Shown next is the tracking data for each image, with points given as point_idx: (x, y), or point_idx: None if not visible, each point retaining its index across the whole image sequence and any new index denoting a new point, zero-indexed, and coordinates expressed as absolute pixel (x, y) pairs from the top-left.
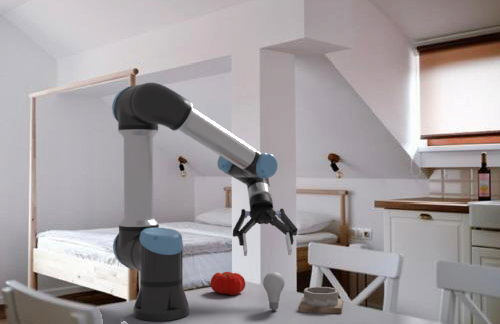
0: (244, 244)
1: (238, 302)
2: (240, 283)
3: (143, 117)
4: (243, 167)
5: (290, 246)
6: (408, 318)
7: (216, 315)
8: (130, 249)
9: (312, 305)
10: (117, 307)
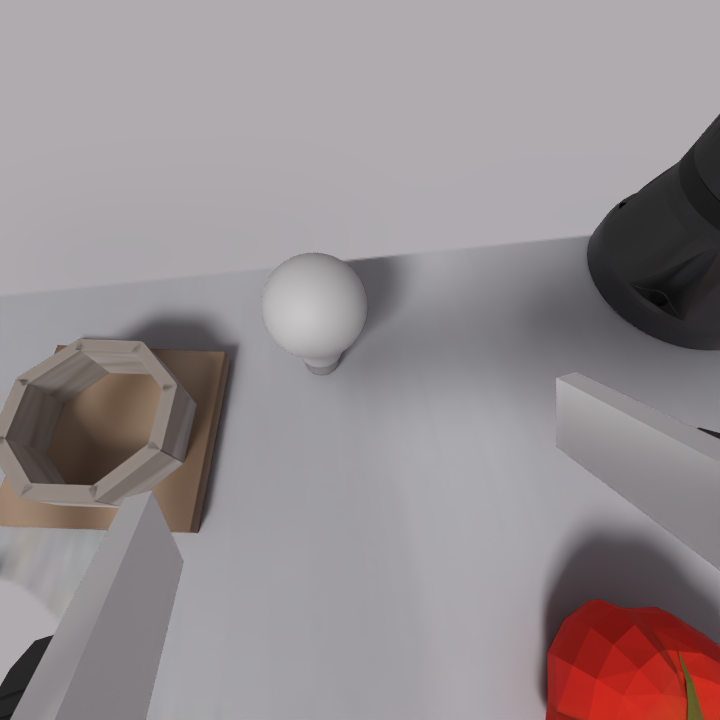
0: (630, 398)
1: (491, 480)
2: (564, 670)
3: None
4: None
5: (122, 522)
6: None
7: (503, 284)
8: None
9: (166, 365)
10: None
